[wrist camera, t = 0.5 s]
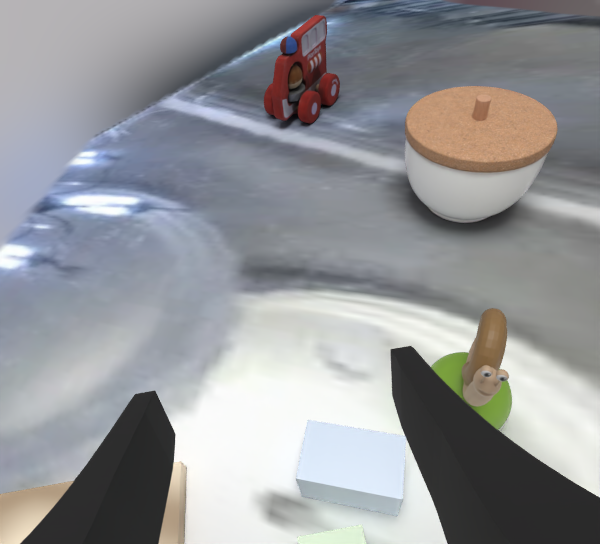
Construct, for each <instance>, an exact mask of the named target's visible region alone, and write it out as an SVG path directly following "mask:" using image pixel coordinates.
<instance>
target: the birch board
mask: <svg viewBox="0 0 600 544" xmlns="http://www.w3.org/2000/svg"><path fill="white" fill-rule="evenodd" d="M73 482H74V481H70V482H65V483H59V484H54V485H48V486H43V487H37V488H32V489H26V490H21V491H15V492H10V493H4V494H0V544H20V543H21V542H22V541H23V540H24V539H25V538H26V537H27V536H28V535H29V534H30V533H31V532H32V531H33V530H34V528H35V527H36V526H37V525H38V524H39V523H40V522H41V521H42V519H43V518H44V517H45V516H46V515H47V514H48V513H49V511H50V510H51V509H52V508H53V507H54V506H55V504H56V503H57V502H58V501H59V499H60V498H61V497H62V496H63V495H64V493H65V492H66V491H67V490H68V488H69V487H70V486H71V484H72V483H73ZM185 496H186V466H185V465H184V464H183V463H182V462H175V463H173V471H172V477H171V482H170V487H169V493H168V498H167V503H166V508H165V513H164V518H163V523H162V528H161V533H160V539H159V544H184V527H185Z"/></svg>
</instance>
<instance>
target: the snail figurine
mask: <svg viewBox="0 0 600 544" xmlns="http://www.w3.org/2000/svg"><path fill="white" fill-rule="evenodd" d="M506 340H507V328H506V318H505V315H504V314H503V313H502V312H501V311H500V310H498V309H493V308H492V309H488V310H486V311H485V312H484V313H483V314H482V316H481V319H480V322H479V326H478V331H477V336H476V338H475V340H474V342H473V344H472V346H471V349H470V351H469V353H466V352H460V353H453V354H449V355H447V356H444V357H442V358H441V359H439V360H438V361H437V362H435V363H434V364H433V365H432V366H431V368H432V369H433V370H434V371H435V372H436V374H437V375H438V376H439V377H440V378H441V379H442V380H443V381H444V382H445V383H446V384H447V385H448V386H449V387H450V388H451V389H452V390H453V391H454V392H455V393H456V394H457V395H459V396H460V397H461V398H462V399H463V400H464V401H465V402H466V403H467V404H468V405H469V406H470V407H471V408H472V409H474V410H475V411H476V412H477V413H478V414H479V415H481V416H482V417H483V418H484V419H485V420H486V421H488V422H489V423H490V424H491V425H492V426H494V427H495V428H496V429H497V430H498V429H499V428H501V426H502V425H503V424H504V423H505V421H506V420H507V418H508V416H509V413H510V410H511V405H512V395H511V389H510V386H509V383H508V381H507V380H508V378H509V375H508V373H507V371H505V370H502V369H501V370H500V369H499V368H500V365H501V362H502V359H503V355H504V351H505V346H506Z"/></svg>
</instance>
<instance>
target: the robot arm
mask: <svg viewBox="0 0 600 544" xmlns="http://www.w3.org/2000/svg"><path fill="white" fill-rule="evenodd" d="M391 371H392V396H393V399H394V403H395V406H396V410H397V413H398V416H399V420H400V423H401V426H402V429H403V431H404V434H405V436H406V438H407V441H408V443H409V445H410V448H411V450H412V453H413V455H414V457H415V460H416V462H417V464H418V467H419V469H420V471H421V474H422V476H423V478H424V481H425V483H426V485H427V488H428V490H429V492H430V495H431V497H432V500H433V502H434V505H435V507H436V510H437V513H438V516H439V519H440V522H441V525H442V528H443V531H444V534H445V537H446V540H447V543H448V544H600V498H599V497H598V496H596V495H594V494H593V493H591V492H589V491H587V490H586V489H584V488H582V487H581V486H579V485H577V484H575V483H574V482H572V481H571V480H569V479H567V478H566V477H564V476H563V475H561V474H560V473H558V472H557V471H555V470H554V469H552V468H550V467H549V466H547V465H546V464H544V463H543V462H541V461H540V460H538V459H537V458H535V457H534V456H532V455H531V454H529V453H528V452H527V451H525V450H524V449H522V448H521V447H520V446H518V445H517V444H515V443H514V442H513V441H512V440H510V439H509V438H508V437H506V436H505V435H504V434H502V433H501V432H500V431H499V430H497V429H496V428H495V427H494V426H492V425H491V424H490V423H489V422H488V421H486V420H485V419H484V418H483V417H482V416H481V415H479V414H478V413H477V412H476V411H475V410H474V409H472V408H471V407H470V406H469V405H468V404H467V403H466V402H465V401H464V400H463V399H462V398H461V397H460V396H459V395H457V394H456V393H455V392H454V391H453V390H452V389H451V388H450V387H449V386H448V385H447V384H446V383H445V382H444V381H443V380H442V379H441V378H440V377H439V376H438V375H437V374H436V372H435V371H434V370H433V369H432V368H431V367H430V366H429V365H428V364H427V363H426V362H425V361H424V359H423V358H422V357H421V356H420V355H419V354H418V352H417V351H416V350H415V349H414V348H413V347H411V346H408V347H402V348H396V349H391ZM174 450H175V432H174V430H173V428H172V426H171V424H170V421H169V419H168V417H167V415H166V413H165V411H164V409H163V406H162V404H161V402H160V400H159V398H158V396H157V394H156V391H151V392H145V393H139V394H135V395H134V397H133V398H132V399H131V401H130V402H129V404H128V405H127V407H126V408H125V410H124V411H123V413H122V414H121V416H120V417H119V419H118V420H117V422H116V423H115V425H114V426H113V428H112V429H111V430H110V432H109V433H108V435H107V436H106V438H105V439H104V441H103V442H102V444H101V445H100V446H99V448H98V449H97V451H96V452H95V453H94V455H93V456H92V458H91V459H90V461H89V462H88V463H87V465H86V466H85V467H84V469H83V470H82V471H81V473H80V474H79V475H78V476H77V478H76V479H75V480H74V482H73V483H72V484H71V486H70V487H69V488H68V490H67V491H66V492H65V493H64V495H63V496H62V497H61V498H60V499H59V501H58V502H57V503H56V504H55V506H54V507H53V508H52V509H51V510H50V511H49V513H48V514H47V515H46V516H45V517H44V518H43V519H42V521H41V522H40V523H39V524H38V525H37V526H36V527H35V528H34V530H33V531H32V532H31V533H30V534H29V535H28V536H27V537H26V538H25V539H24V540H23V541H22V542H21V543H20V544H159V539H160V533H161V528H162V523H163V518H164V513H165V508H166V503H167V498H168V493H169V487H170V482H171V477H172V471H173V463H174Z"/></svg>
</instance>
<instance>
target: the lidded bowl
mask: <svg viewBox="0 0 600 544" xmlns="http://www.w3.org/2000/svg"><path fill="white" fill-rule="evenodd" d="M556 134H557V123H556V120H555V118H554V116H553V115H552V113H551V112H550V111H549V110H548V109H547V108H546V107H545V106H544V105H542V104H541V103H539V102H538V101H536V100H534V99H532V98H530V97H528V96H525V95H523V94H520V93H517V92H514V91H510V90H505V89H501V88H493V87H481V86H468V87H456V88H450V89H446V90H442V91H438V92H435V93H432V94H430V95H428V96H426V97H424V98H422V99H421V100H419V101H418V102H417V103H415V104H414V105H413V106H412V107H411V109H410V110H409V112H408V113H407V117H406V122H405V135H406V138H405V166H406V172H407V176H408V180H409V182H410V185H411V187H412V189H413V191H414V192H415V194H416V195H417V197H418V198H419V199H420V200H421V201H422V202H423V203H424V204H425V205H426V206H427V207H428V208H429V209H430V211H432V212H433V213H434V214H435V215H437V216H439V217H441V218H443V219H445V220H448V221H452V222H458V223H472V222H478V221H481V220H484V219H486V218H488V217H489V216H492V215H495V214H498V213H500V212H502V211H504V210H505V209H507V208H509V207H510V206H512V205H513V204H515V203H516V202H517V201H518V200H519V199H520V198H521V197H522V196H523V195H524V194H525V193H526V192H527V190H528V189H529V187H530V186H531V185H532V183H533V182H534V180H535V178H536V176H537V175H538V173H539V171H540V170H541V168H542V165H543V163H544V161H545V159H546V156H547V153H548V152H549V150H550V148H551V147H552V145H553V143H554V140H555V138H556Z"/></svg>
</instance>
